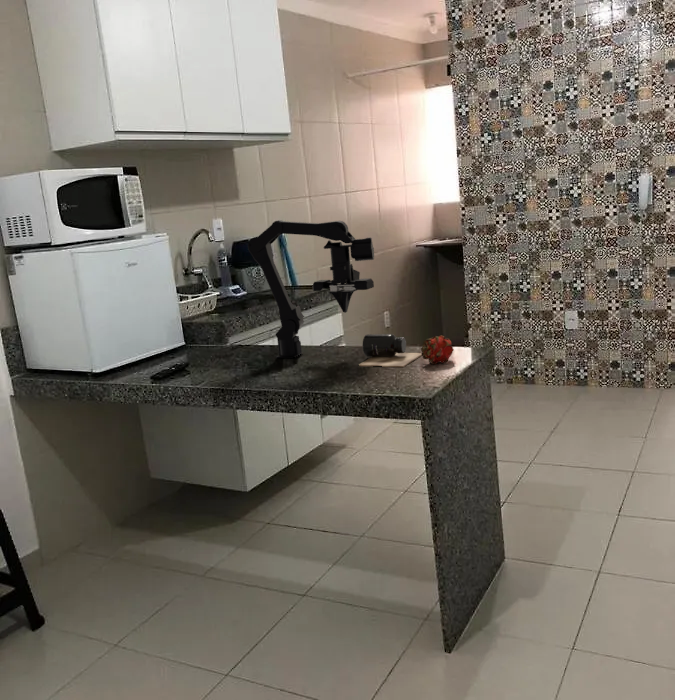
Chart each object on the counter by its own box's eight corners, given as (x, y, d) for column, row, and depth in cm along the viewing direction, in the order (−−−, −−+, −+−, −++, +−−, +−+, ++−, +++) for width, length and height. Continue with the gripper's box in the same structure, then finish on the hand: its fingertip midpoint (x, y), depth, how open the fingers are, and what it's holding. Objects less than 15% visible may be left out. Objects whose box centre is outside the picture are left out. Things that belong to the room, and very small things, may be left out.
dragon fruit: (423, 373, 208) (446, 369, 217) (445, 357, 203) (467, 353, 212) (409, 347, 211) (432, 344, 220) (430, 330, 206) (453, 328, 215)
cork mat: (358, 366, 216) (358, 364, 216) (380, 353, 230) (380, 352, 230) (403, 367, 210) (403, 365, 210) (423, 354, 224) (423, 353, 224)
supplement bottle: (360, 351, 221) (399, 350, 217) (363, 330, 224) (401, 329, 220) (368, 360, 227) (405, 360, 222) (370, 340, 230) (408, 339, 225)
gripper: (379, 258, 232) (382, 307, 235) (326, 260, 241) (330, 308, 244) (364, 262, 222) (368, 314, 226) (309, 264, 231) (314, 314, 234)
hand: (345, 312), depth 233 cm, fingers closed
